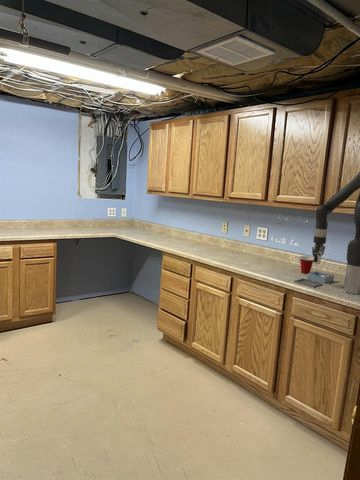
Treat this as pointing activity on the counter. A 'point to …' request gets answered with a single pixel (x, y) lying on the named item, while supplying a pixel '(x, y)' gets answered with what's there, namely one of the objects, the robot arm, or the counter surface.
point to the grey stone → (318, 260)
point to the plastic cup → (306, 264)
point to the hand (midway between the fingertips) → (317, 261)
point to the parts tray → (308, 282)
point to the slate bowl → (320, 277)
